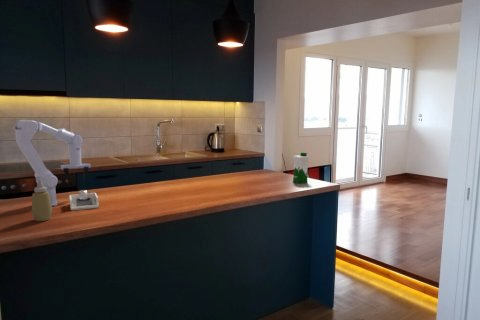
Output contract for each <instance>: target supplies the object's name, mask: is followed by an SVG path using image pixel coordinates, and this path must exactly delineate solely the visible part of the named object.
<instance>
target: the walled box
mask: <svg viewBox="0 0 480 320" xmlns="http://www.w3.org/2000/svg"><path fill="white" fill-rule="evenodd" d="M68 196H69V197H68V198H69V207H70V211H72V212H73V211H81V210H83V211H84V210H90V209H100V205H99V196H98V194H97V193H96V192H90V193H89V192H87V198H91V199H92V205H88V206H79V207H77V206H76V199H80V195H79V193H78V194H77V193H76V194H69V195H68Z"/></svg>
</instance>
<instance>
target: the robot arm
mask: <svg viewBox="0 0 480 320" xmlns="http://www.w3.org/2000/svg"><path fill="white" fill-rule="evenodd" d="M13 130H14V132H15V142H16V145H17V146H18V148H19V150H20V151H21V152H22V154H23V156H24V158H25V159H26V160H27V163H28V164H29V165H30V167H31V169H32V170H33V171H34V177H35V182H36V183H37V184H38V180H39V179H41V180H42V183H43V186H44V187H46V188H47V191H46V192H49V195H50V200H51V206H52V207H55V206H58V201H57V193H56V186H57V184H58V181H59V179H58V177H57V176H56V175H54V174H53V173H52V172H51V170H50V169H48V168H47V167H46V165H45V164H44V162H43V160H42V159H41V157H40V156H39V154H38V152H37V149H35V147H34V145H33V143H32V142H31V140H32V138H33V137H34V135H35V134H36V133H37V132H43V133H46V134H49V135H52V136H54V137H55V139H56V140H58V141H62V142H64V143H66V144H68V153H69V154H68V155H69V156H68V157H69V164H62V165H60V169H61V170H62V171H63V173H65V177H66V179H67V183H70V182H71V181H70V173H69V172H70V171H69V170H70V169H83V182H86V179H87V174H88V172H89V169H90V168H92V167H91V166H92V165H91V163H82V149H81V148H82V143H83V140H84V139H83V138H82V136H81V135H80V134H75V133H74V132H73V131H69V130H67V129H66V128H64V127H60V128H58V129H56V128H54V127H53V126H50V125H47V124H45V123H43V122H40V121H36V120H32V119H19V120H17V121H16V122H15V124H14V126H13ZM37 184H36V185H37Z"/></svg>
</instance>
